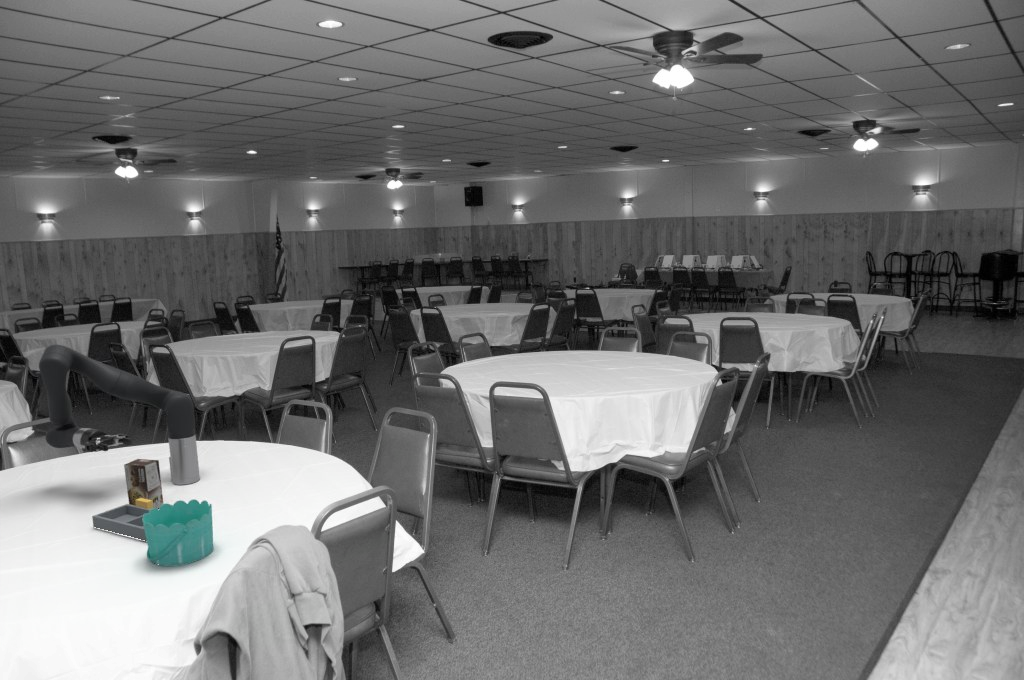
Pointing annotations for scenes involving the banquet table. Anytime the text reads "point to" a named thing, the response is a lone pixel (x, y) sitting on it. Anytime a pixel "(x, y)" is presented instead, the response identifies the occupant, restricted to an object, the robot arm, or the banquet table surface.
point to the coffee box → (144, 481)
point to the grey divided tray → (125, 519)
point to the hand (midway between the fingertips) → (119, 444)
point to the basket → (179, 532)
